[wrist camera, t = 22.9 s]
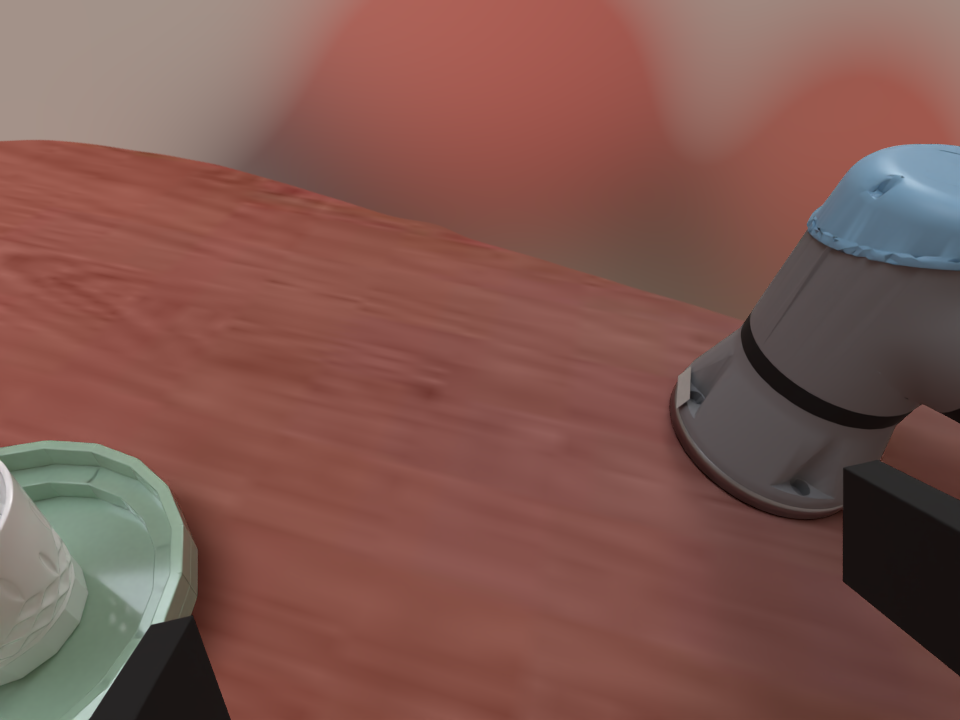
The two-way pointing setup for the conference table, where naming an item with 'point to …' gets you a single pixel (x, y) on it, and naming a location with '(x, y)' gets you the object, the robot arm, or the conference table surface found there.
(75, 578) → the white cup
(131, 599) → the basin
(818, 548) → the conference table surface
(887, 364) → the robot arm
